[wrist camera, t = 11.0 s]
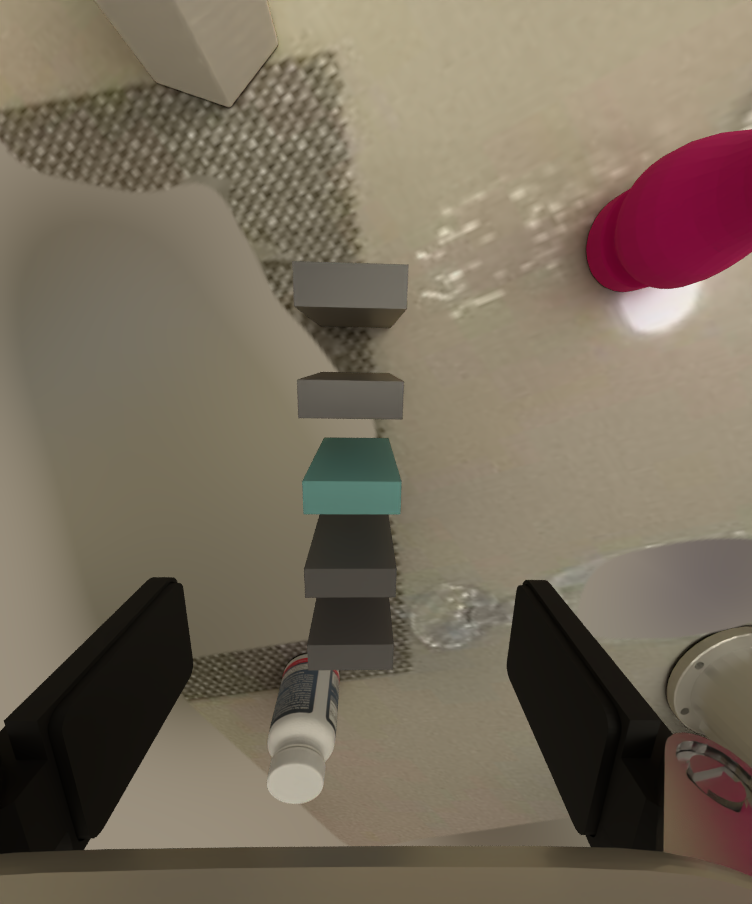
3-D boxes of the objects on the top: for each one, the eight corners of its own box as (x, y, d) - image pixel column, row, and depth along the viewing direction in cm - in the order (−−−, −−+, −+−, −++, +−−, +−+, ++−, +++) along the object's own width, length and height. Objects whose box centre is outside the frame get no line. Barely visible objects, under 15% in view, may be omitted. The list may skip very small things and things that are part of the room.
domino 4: (385, 518, 29) (395, 597, 20) (324, 518, 29) (305, 597, 19) (385, 498, 29) (396, 568, 19) (324, 497, 29) (304, 569, 19)
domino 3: (387, 460, 28) (400, 514, 18) (324, 459, 28) (303, 514, 18) (388, 438, 27) (401, 481, 18) (324, 437, 27) (302, 481, 18)
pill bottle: (273, 681, 33) (242, 793, 25) (302, 642, 32) (279, 745, 24) (321, 704, 34) (307, 820, 26) (350, 667, 33) (346, 775, 24)
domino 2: (388, 397, 27) (402, 419, 17) (322, 396, 26) (298, 418, 17) (389, 373, 26) (404, 381, 16) (321, 372, 26) (297, 379, 16)
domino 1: (390, 327, 25) (406, 309, 16) (321, 326, 25) (294, 306, 16) (391, 301, 25) (408, 264, 15) (320, 299, 25) (292, 261, 15)
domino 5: (383, 570, 30) (392, 669, 21) (325, 571, 30) (308, 670, 21) (384, 552, 30) (393, 644, 20) (325, 552, 30) (307, 645, 20)
